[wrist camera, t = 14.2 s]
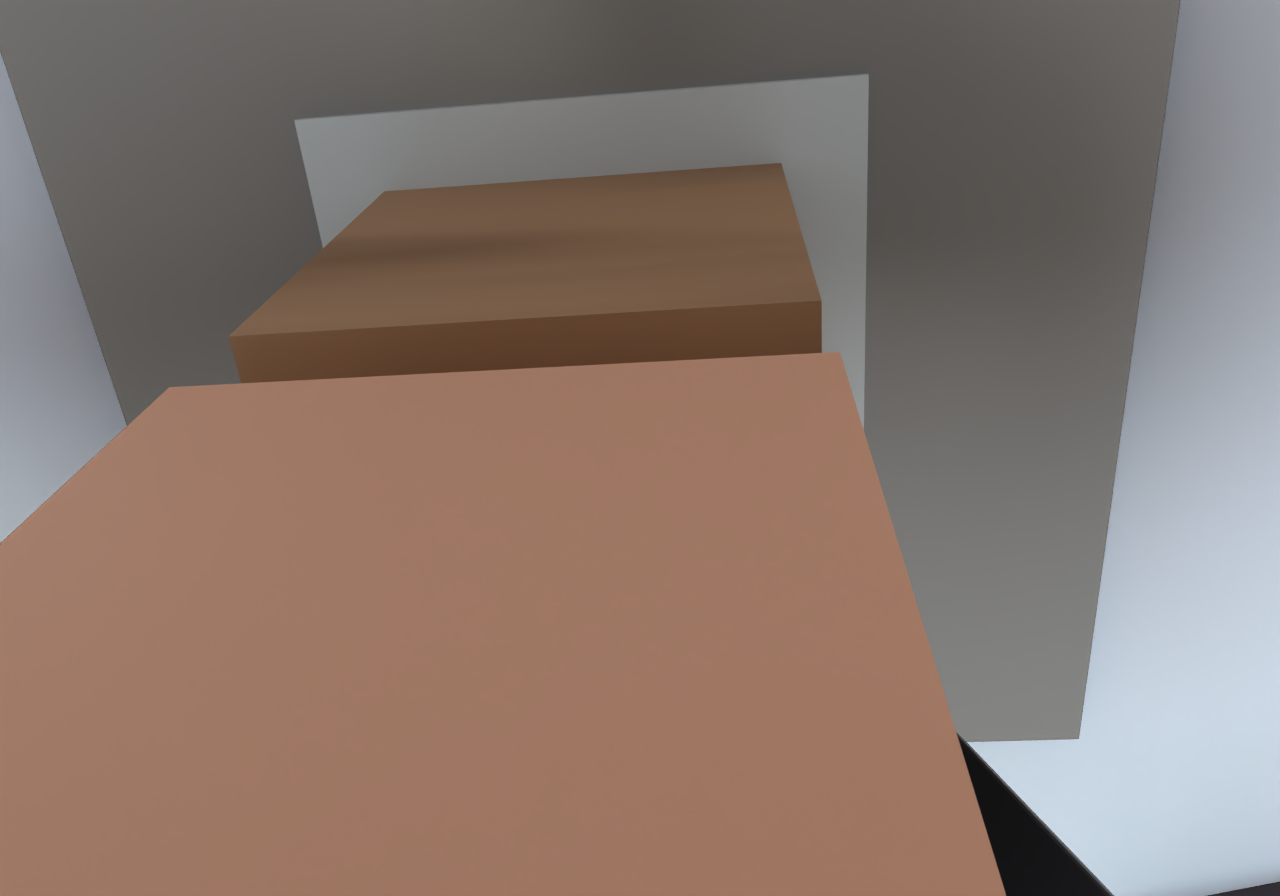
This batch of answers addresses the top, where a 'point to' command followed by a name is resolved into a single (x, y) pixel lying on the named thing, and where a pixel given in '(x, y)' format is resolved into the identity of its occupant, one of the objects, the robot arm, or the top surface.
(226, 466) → the top block
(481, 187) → the base block
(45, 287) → the top surface
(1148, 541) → the top surface
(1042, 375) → the build plate
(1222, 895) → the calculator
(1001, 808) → the robot arm
